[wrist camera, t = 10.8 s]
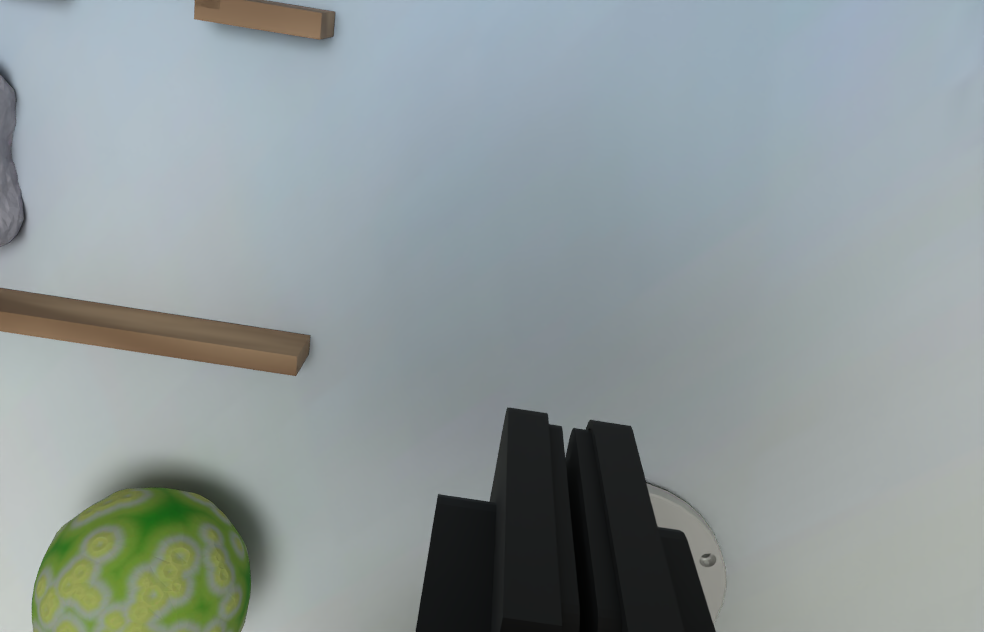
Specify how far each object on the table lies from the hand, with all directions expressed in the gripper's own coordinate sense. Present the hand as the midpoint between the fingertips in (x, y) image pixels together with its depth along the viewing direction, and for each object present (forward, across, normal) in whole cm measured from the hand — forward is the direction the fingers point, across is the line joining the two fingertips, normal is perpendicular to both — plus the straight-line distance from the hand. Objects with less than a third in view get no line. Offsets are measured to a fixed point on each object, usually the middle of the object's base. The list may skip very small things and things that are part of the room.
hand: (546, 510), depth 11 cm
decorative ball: (+27, +15, +23) cm, 39 cm away
